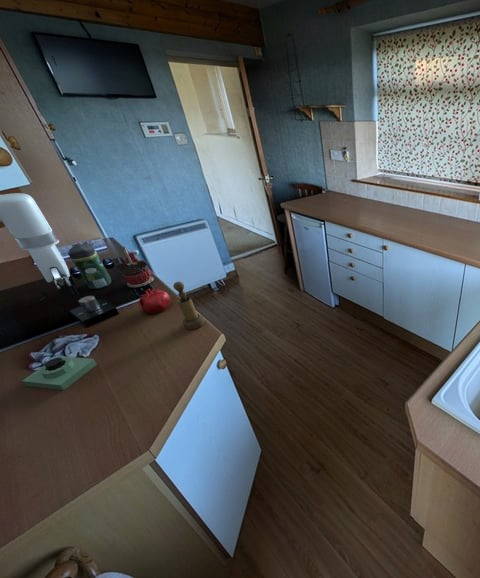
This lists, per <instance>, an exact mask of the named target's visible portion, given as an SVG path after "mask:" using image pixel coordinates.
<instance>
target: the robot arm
mask: <svg viewBox="0 0 480 578" xmlns="http://www.w3.org/2000/svg"><path fill="white" fill-rule="evenodd" d="M1 222H2V223H3V225H4V226H5V228H6V229H7V231H8V232H9V233H10V235H11V236H12V238H13V239H14V241H15V242H16V244H17V245H18V246H19V248H20V249H21V250H22V251H27V252H28V253H29V255H30V257H31V259H32V260H33V262H34V264H35V265H36V267H37V268H38V270H39V272H40V273H41V274H42V276H43V278H44V279H45V281H46V282H47V283H52V282H54V284H55V286H56V287H57V290H58V292H59V293H60V294H61V296H62V297H63V300H65V301H69V300H72V299H76V298H79V297H80V293H79V292H78V291H77V289H76V288H75V286H76V285H77V283H76V281H75V279H74V278H73V276H72V275H71V273H70V270H69V267H68V265H67V263H66V261H65V259H64V257H63V256H62V253H61V252H60V250H59V249H58V247H57V246H56V245H58V244H59V243H60V239H58V236H57V235H56V234H55V232H54V230H53V229H52V227H51V226H50V224H49V222H48V221H47V219H46V217H45V215H44V214H43V212H42V211H41V208H40V207H39V206H38V204H37V202H36V201H35V199H34V197H32V196H31V195H29V194H27V193H21V192H18V193H17V192H15V193H6V194H0V223H1Z"/></svg>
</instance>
